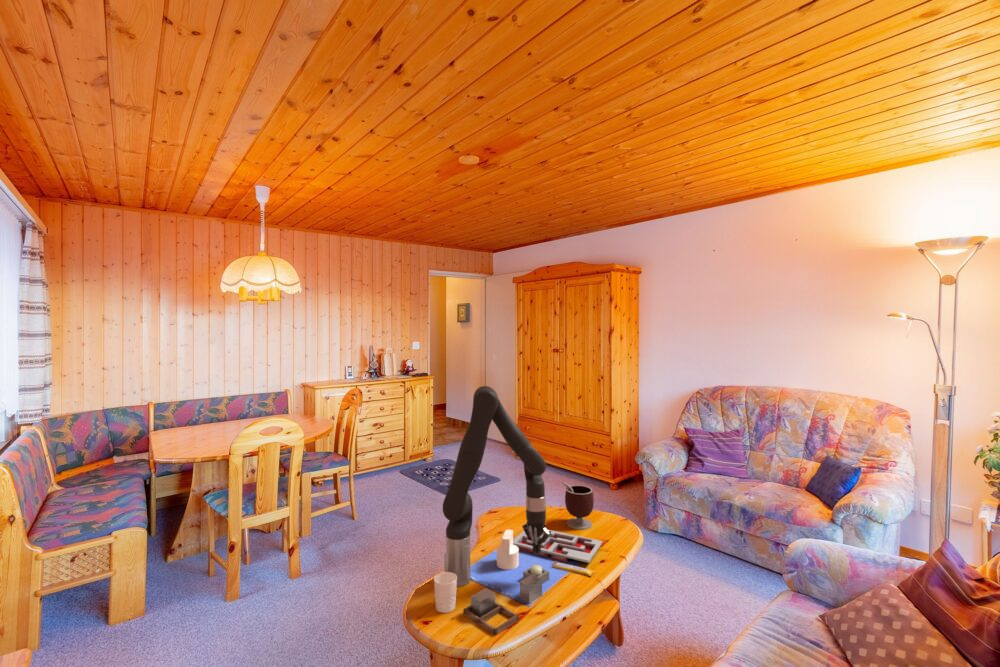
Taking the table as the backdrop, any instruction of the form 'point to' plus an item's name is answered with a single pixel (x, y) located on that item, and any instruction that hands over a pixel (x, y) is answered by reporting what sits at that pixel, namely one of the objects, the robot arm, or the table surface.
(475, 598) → the seated billet
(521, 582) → the block
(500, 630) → the frame
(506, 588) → the table surface
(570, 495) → the mate gourd
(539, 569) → the button
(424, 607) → the table surface
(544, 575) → the button housing
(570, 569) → the candy bar
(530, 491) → the robot arm
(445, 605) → the white cup
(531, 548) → the maze game
